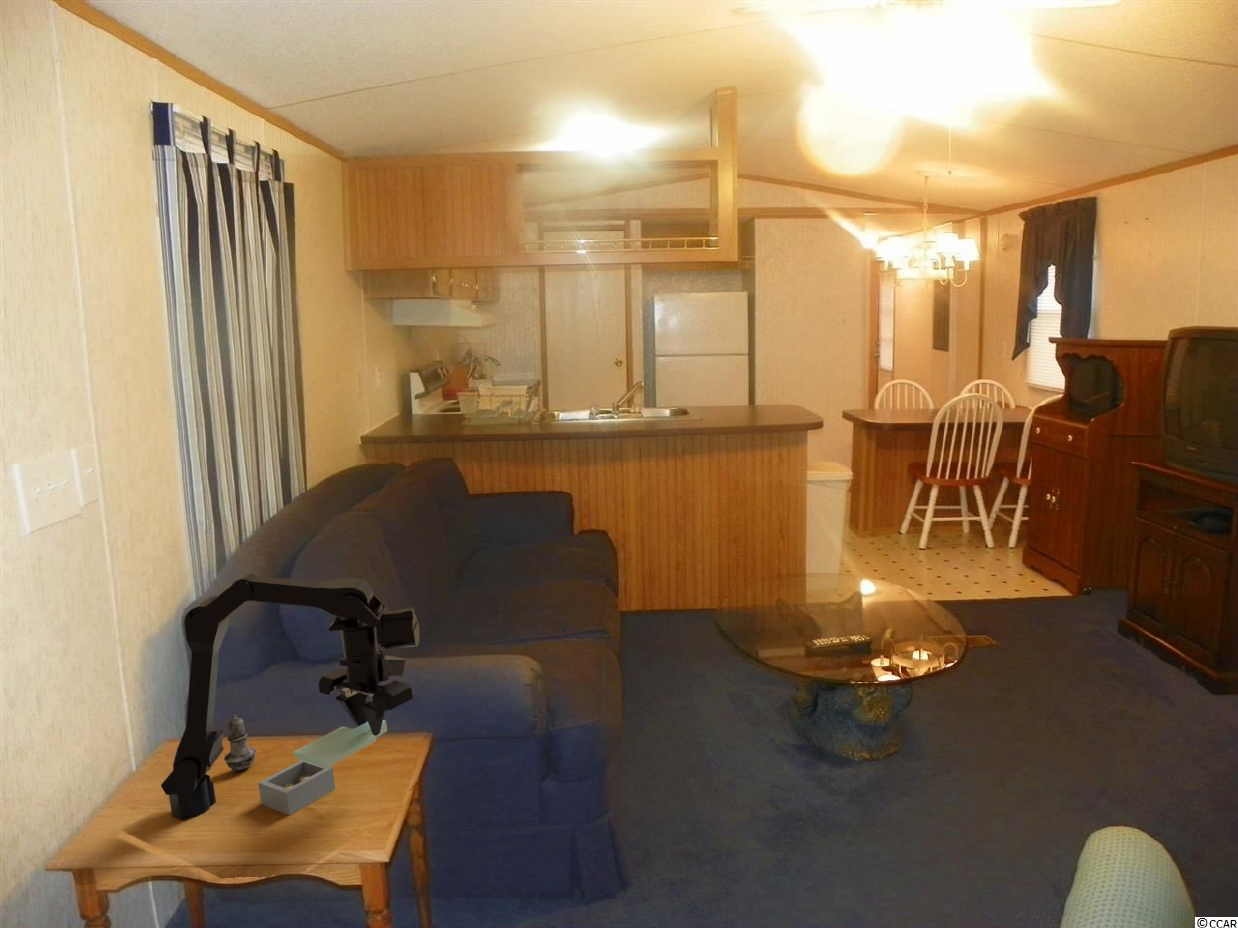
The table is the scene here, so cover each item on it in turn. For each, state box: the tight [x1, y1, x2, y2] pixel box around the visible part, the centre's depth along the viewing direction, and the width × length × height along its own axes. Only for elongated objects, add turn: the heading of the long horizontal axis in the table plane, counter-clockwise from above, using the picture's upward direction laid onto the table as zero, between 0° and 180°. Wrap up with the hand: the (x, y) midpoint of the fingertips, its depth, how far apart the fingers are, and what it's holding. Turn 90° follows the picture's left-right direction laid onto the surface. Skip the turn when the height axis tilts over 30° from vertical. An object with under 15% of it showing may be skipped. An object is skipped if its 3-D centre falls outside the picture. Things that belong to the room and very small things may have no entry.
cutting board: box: [293, 719, 388, 768], centre depth 160 cm, size 16×9×2 cm, turn 147°
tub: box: [258, 759, 336, 816], centre depth 166 cm, size 10×8×5 cm
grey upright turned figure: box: [223, 714, 257, 776], centre depth 178 cm, size 6×6×12 cm
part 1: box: [282, 784, 294, 789], centre depth 164 cm, size 2×2×3 cm
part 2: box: [299, 774, 312, 782], centre depth 167 cm, size 2×2×3 cm
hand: (370, 732), depth 164 cm, fingers closed on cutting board, 3 cm apart
